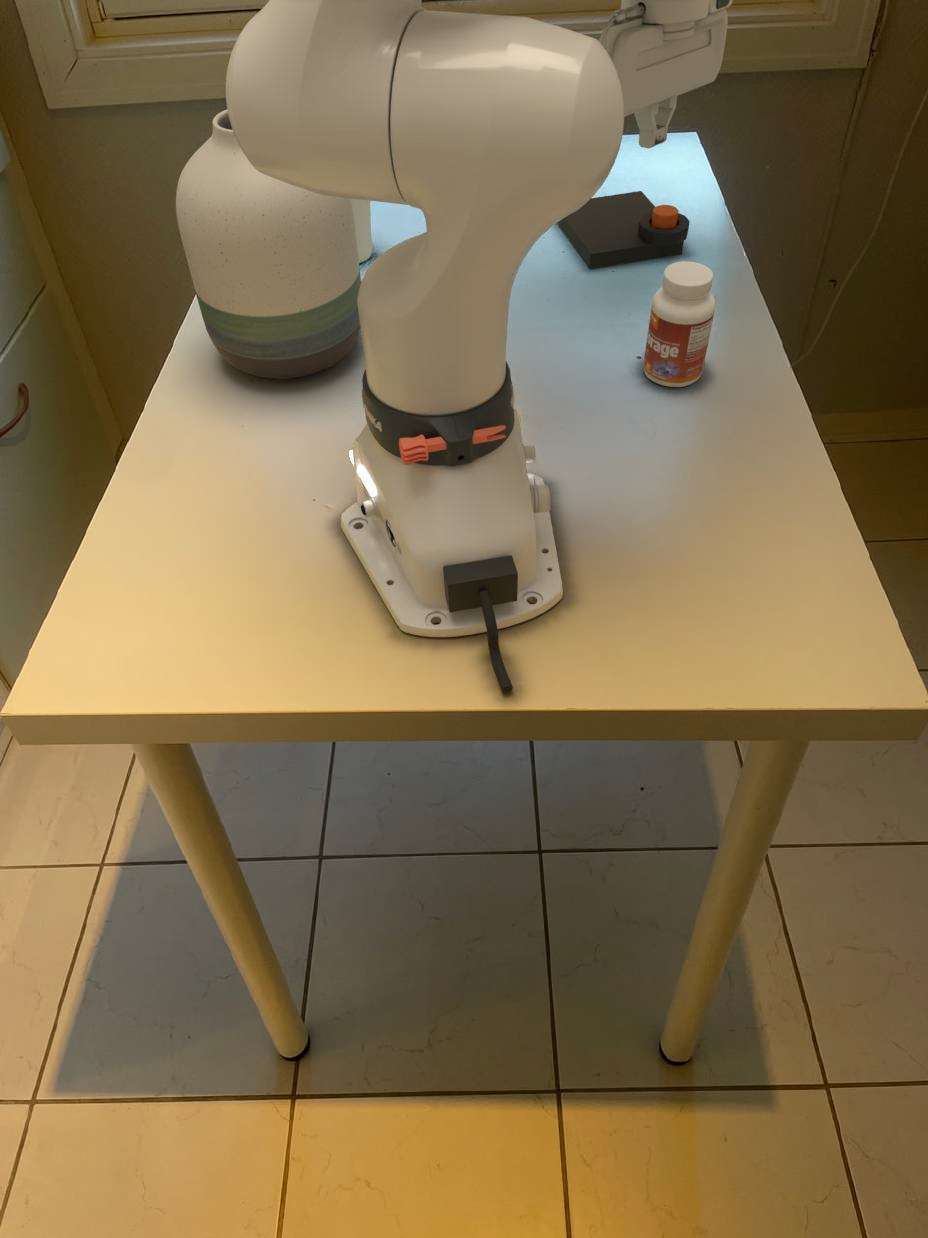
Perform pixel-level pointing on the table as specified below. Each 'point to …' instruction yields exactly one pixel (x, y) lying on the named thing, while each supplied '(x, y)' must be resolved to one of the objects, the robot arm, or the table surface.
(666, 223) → the button
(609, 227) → the scale
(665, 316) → the pill bottle
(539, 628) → the table surface
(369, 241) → the drinking glass
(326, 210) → the vase
